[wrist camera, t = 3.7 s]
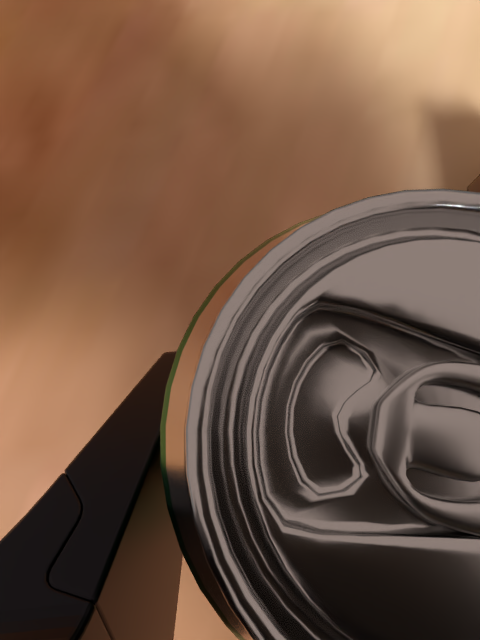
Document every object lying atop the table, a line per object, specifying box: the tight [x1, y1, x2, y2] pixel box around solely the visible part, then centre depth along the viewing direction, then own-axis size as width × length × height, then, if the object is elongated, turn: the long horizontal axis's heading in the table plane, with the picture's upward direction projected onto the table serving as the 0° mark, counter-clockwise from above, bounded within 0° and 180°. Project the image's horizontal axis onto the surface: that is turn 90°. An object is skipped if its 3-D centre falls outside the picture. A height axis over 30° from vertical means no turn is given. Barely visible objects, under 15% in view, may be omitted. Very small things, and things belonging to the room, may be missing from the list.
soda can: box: [160, 189, 480, 640], centre depth 9 cm, size 5×5×12 cm
